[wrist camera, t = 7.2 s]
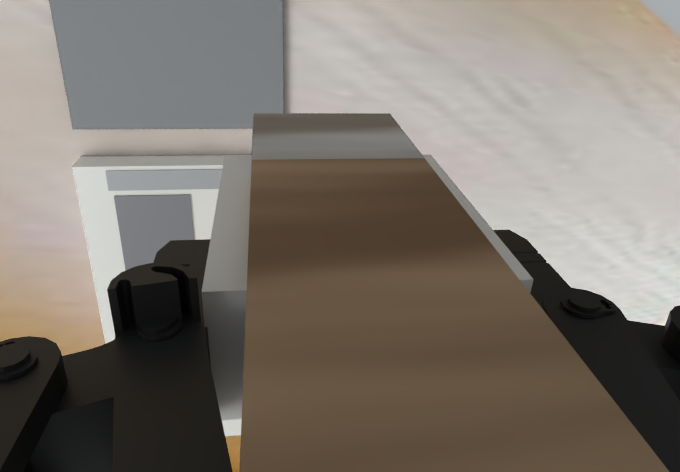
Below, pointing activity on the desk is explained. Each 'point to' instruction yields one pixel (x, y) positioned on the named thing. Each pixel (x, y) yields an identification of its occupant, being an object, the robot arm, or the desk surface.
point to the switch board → (143, 215)
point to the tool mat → (170, 62)
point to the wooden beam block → (399, 323)
